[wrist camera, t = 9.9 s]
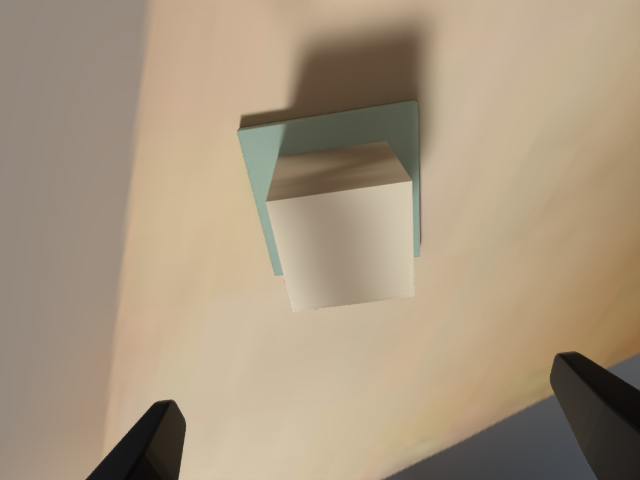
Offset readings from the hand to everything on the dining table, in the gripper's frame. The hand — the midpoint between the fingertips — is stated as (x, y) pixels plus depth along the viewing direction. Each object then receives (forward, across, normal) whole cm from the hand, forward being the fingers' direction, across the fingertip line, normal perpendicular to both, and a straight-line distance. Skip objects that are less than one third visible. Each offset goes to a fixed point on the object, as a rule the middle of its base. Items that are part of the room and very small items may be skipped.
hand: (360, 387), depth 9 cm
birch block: (+11, 0, 0) cm, 11 cm away
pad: (+11, 0, 0) cm, 11 cm away
